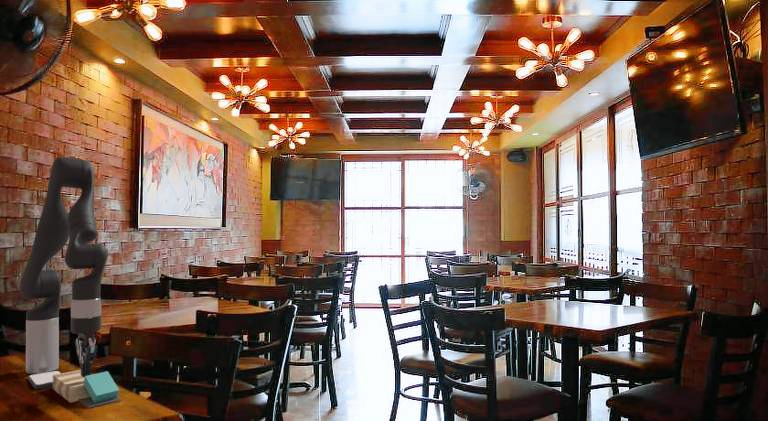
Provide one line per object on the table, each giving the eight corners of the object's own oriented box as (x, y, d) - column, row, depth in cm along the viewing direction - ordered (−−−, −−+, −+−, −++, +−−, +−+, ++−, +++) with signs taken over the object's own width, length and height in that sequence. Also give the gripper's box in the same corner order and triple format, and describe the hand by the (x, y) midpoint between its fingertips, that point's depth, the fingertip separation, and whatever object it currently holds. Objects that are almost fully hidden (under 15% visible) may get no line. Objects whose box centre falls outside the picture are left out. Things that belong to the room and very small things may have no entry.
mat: (78, 400, 145) (78, 399, 145) (109, 393, 151) (109, 392, 151) (88, 408, 139) (88, 407, 139) (121, 401, 144) (121, 399, 144)
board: (52, 388, 156) (52, 375, 156) (82, 382, 162) (82, 369, 162) (70, 402, 144) (70, 387, 144) (102, 395, 149) (102, 381, 149)
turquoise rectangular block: (83, 383, 146) (85, 376, 145) (105, 378, 151) (107, 371, 150) (94, 403, 142) (96, 395, 141) (117, 397, 146) (119, 390, 146)
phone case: (26, 380, 168) (34, 391, 155) (26, 375, 168) (34, 385, 156) (59, 375, 173) (69, 385, 161) (59, 370, 173) (69, 379, 161)
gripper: (64, 313, 152) (64, 374, 152) (78, 319, 143) (77, 384, 142) (93, 310, 157) (93, 368, 157) (108, 315, 148) (107, 378, 148)
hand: (85, 376), depth 150 cm, fingers closed
